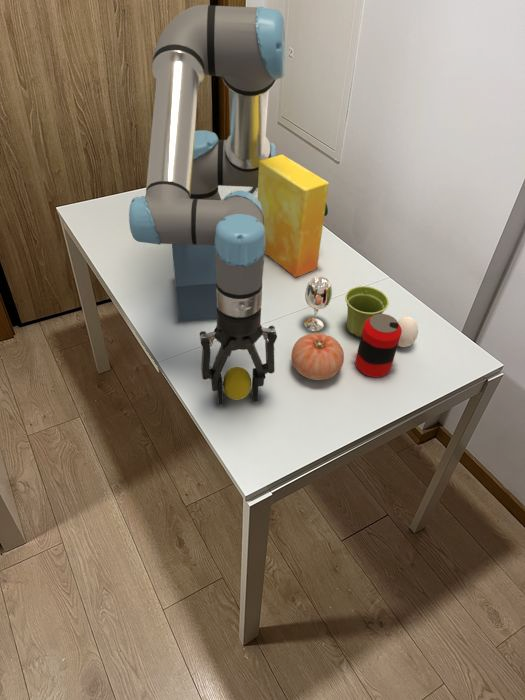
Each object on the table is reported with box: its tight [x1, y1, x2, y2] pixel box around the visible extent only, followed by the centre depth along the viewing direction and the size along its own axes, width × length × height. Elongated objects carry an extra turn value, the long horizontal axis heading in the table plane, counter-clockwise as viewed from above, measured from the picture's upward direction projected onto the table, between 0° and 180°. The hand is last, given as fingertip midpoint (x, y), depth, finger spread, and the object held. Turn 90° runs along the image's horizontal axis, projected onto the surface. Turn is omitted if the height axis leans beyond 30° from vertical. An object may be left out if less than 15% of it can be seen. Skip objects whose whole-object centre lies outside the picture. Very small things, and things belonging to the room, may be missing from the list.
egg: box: [397, 316, 419, 348], centre depth 116 cm, size 5×5×8 cm
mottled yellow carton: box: [257, 154, 330, 278], centre depth 134 cm, size 18×12×24 cm
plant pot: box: [344, 285, 390, 338], centre depth 119 cm, size 9×9×9 cm
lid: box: [171, 244, 217, 287], centre depth 108 cm, size 16×13×7 cm
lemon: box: [222, 366, 252, 401], centre depth 103 cm, size 6×6×8 cm
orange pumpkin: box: [290, 332, 345, 381], centre depth 109 cm, size 11×11×8 cm
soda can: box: [355, 313, 402, 378], centre depth 109 cm, size 8×8×12 cm
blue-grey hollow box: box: [175, 284, 217, 323], centre depth 124 cm, size 16×13×10 cm
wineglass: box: [303, 275, 333, 332], centre depth 118 cm, size 6×6×12 cm
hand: (237, 397), depth 105 cm, fingers open, 6 cm apart
